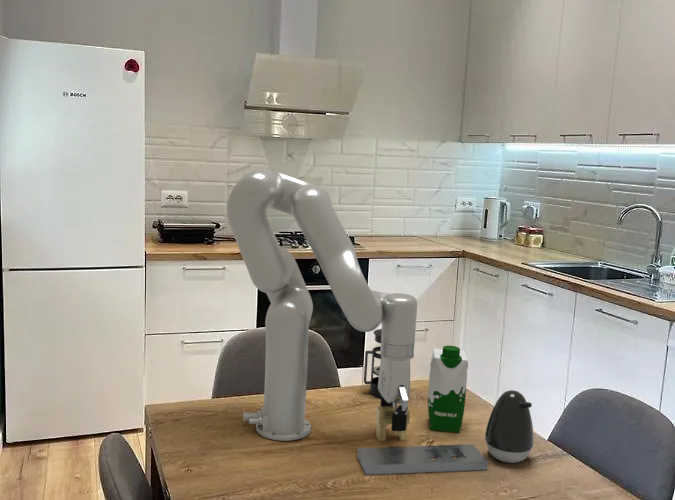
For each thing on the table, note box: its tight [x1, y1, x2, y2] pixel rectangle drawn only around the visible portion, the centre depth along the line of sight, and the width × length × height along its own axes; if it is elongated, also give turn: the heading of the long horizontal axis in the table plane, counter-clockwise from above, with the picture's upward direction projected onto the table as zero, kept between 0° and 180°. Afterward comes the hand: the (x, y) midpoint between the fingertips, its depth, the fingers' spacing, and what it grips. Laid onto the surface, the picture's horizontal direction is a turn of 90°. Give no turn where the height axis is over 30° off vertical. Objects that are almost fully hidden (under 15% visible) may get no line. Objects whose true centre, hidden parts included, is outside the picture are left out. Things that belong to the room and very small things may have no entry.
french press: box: [363, 328, 401, 400], centre depth 181 cm, size 12×9×23 cm
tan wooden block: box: [375, 405, 411, 442], centre depth 154 cm, size 7×3×7 cm, turn 101°
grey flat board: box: [356, 443, 489, 476], centre depth 142 cm, size 26×8×2 cm, turn 101°
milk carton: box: [427, 345, 469, 433], centre depth 161 cm, size 9×9×20 cm
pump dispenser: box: [484, 389, 534, 464], centre depth 146 cm, size 10×10×15 cm
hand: (392, 421), depth 154 cm, fingers open, 9 cm apart
